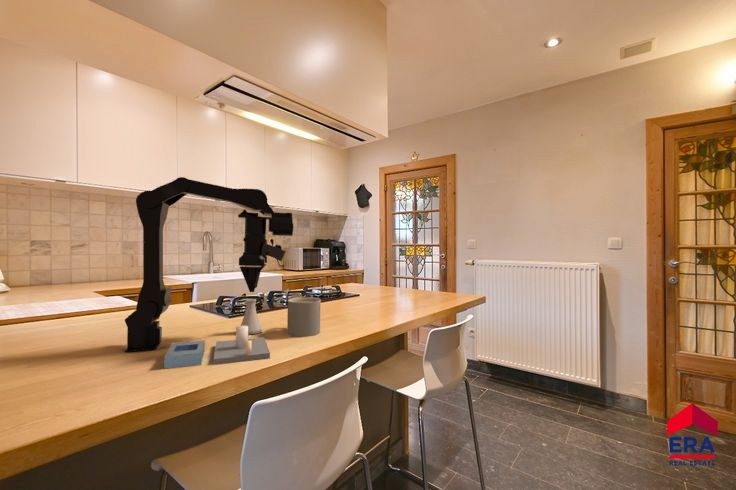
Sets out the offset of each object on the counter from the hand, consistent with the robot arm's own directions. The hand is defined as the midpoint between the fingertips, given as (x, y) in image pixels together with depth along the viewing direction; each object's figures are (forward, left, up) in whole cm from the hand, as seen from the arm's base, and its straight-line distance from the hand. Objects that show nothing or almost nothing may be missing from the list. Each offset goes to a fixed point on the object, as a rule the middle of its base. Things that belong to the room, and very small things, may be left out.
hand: (253, 289), depth 91 cm
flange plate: (-15, -12, -14) cm, 24 cm away
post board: (-3, -11, -14) cm, 18 cm away
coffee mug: (+15, +4, -14) cm, 21 cm away
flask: (0, +8, -14) cm, 17 cm away
